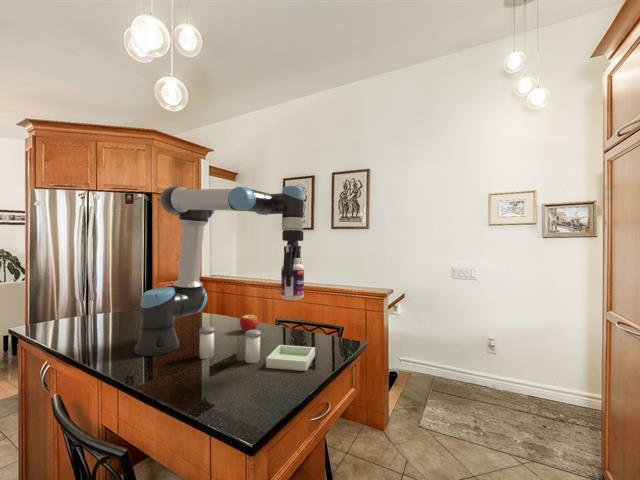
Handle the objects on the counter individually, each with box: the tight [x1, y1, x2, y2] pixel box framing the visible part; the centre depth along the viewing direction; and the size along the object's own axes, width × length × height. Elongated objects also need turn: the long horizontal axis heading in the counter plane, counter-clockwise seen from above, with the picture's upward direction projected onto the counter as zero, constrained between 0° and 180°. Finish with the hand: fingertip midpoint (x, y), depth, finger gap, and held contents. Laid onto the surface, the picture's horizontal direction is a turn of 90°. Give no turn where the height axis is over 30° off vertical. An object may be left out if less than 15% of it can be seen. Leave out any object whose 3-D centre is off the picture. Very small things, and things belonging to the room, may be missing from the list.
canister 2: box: [244, 329, 262, 364], centre depth 110 cm, size 5×5×10 cm
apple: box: [239, 309, 259, 333], centre depth 145 cm, size 8×8×10 cm
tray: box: [265, 344, 316, 372], centre depth 109 cm, size 14×14×3 cm
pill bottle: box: [280, 258, 305, 301], centre depth 109 cm, size 8×8×14 cm
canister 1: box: [198, 326, 216, 360], centre depth 113 cm, size 5×5×10 cm
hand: (292, 293), depth 109 cm, fingers closed on pill bottle, 8 cm apart
